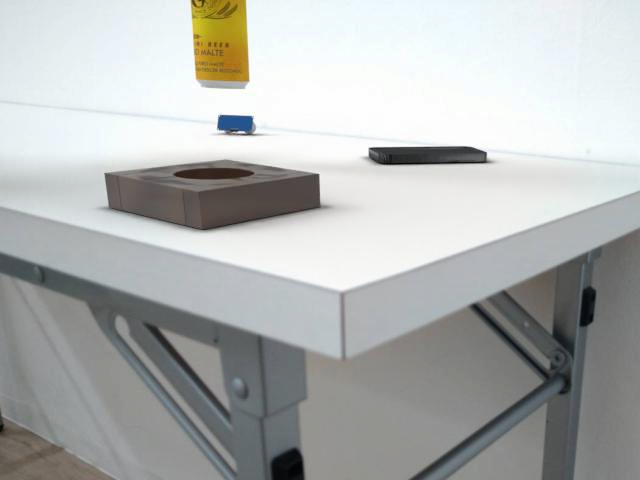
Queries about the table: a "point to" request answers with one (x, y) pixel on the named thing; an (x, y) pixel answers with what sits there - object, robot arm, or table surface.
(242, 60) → the beer can
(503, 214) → the table surface
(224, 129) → the ultrasonic sensor
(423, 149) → the phone
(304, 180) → the can holder
